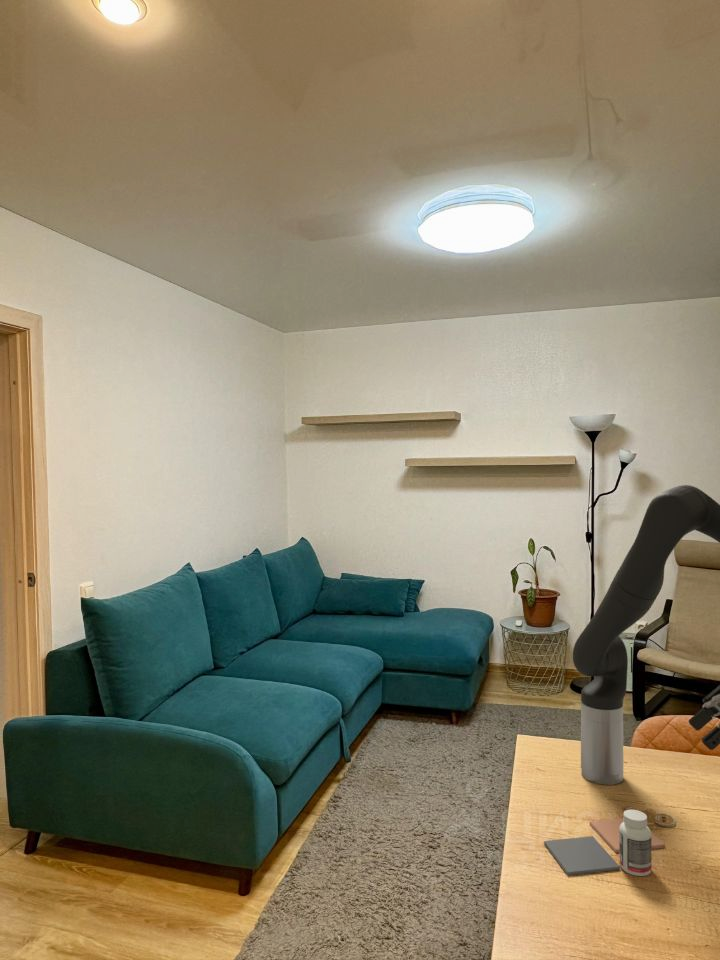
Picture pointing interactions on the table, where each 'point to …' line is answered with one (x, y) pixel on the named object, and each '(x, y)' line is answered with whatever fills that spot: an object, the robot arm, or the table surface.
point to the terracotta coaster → (617, 833)
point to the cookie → (656, 818)
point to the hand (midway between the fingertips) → (698, 735)
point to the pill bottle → (635, 843)
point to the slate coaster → (581, 855)
